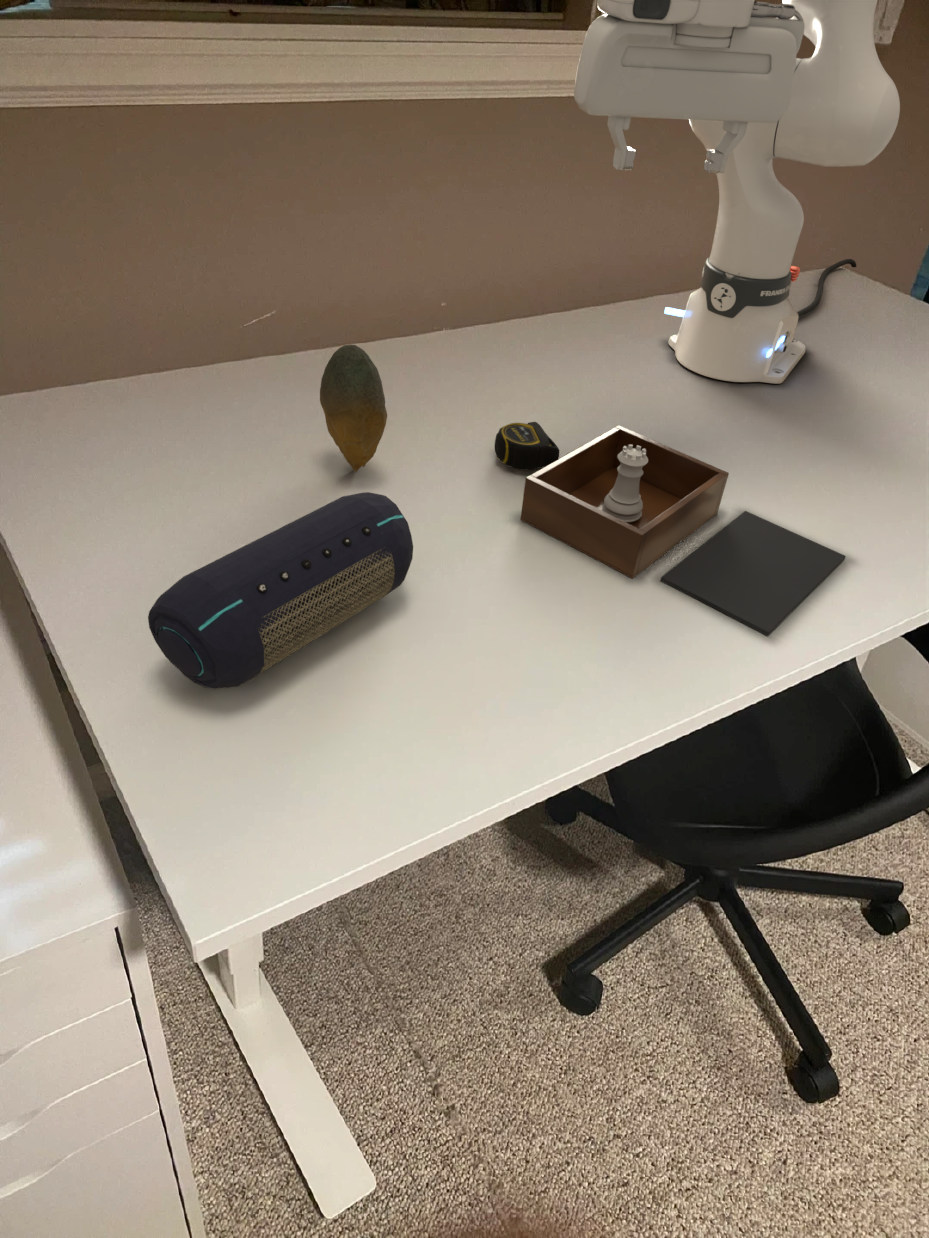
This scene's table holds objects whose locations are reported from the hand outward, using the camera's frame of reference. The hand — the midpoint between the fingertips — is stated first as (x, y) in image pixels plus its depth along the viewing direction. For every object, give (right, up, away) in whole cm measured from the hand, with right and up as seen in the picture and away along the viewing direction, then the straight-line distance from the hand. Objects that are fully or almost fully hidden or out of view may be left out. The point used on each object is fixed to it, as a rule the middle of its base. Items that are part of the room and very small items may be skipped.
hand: (668, 170), depth 88 cm
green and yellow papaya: (-32, -26, +17) cm, 45 cm away
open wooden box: (-2, -32, +13) cm, 35 cm away
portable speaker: (-35, -44, -5) cm, 56 cm away
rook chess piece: (-2, -32, +13) cm, 35 cm away
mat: (+11, -38, +7) cm, 40 cm away
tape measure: (-12, -24, +22) cm, 35 cm away
